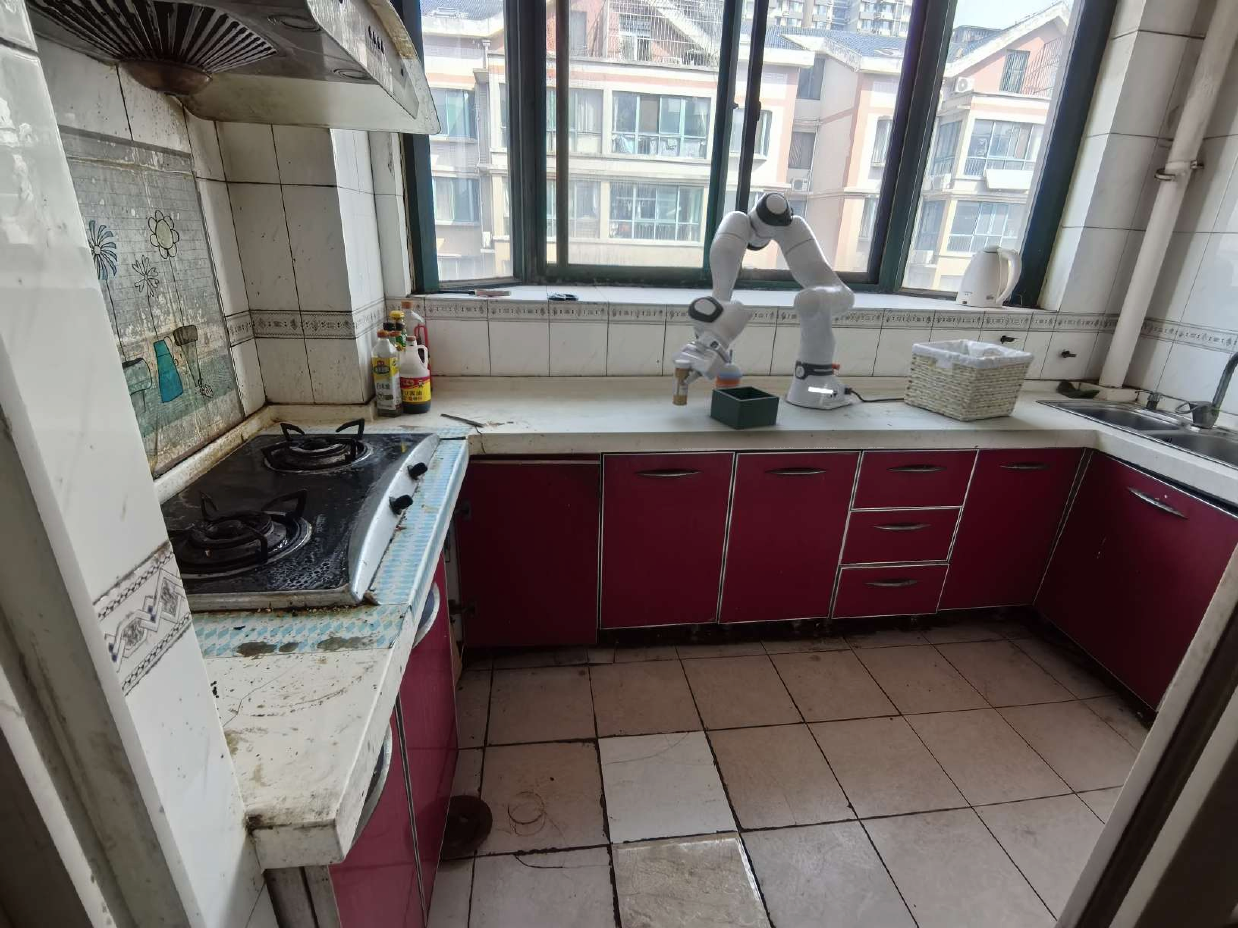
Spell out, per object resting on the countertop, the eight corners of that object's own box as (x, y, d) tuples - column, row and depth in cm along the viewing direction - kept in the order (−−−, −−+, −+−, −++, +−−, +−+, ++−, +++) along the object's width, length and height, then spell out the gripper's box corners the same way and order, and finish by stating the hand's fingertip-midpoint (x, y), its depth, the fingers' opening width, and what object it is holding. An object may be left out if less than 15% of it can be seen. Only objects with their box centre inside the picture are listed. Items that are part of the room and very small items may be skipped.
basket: (963, 425, 187) (982, 356, 179) (895, 401, 209) (910, 340, 201) (1019, 417, 197) (1039, 352, 189) (948, 396, 220) (964, 337, 212)
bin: (747, 411, 190) (750, 385, 187) (775, 424, 179) (779, 396, 175) (709, 416, 184) (712, 389, 180) (736, 429, 172) (740, 401, 169)
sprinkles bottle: (685, 407, 179) (689, 363, 174) (670, 405, 180) (673, 361, 175) (688, 403, 183) (692, 360, 178) (673, 401, 184) (677, 358, 179)
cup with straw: (738, 408, 193) (745, 353, 186) (710, 405, 194) (716, 351, 187) (739, 401, 201) (745, 348, 194) (712, 398, 203) (717, 346, 196)
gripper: (685, 334, 186) (656, 367, 185) (724, 346, 169) (692, 382, 168) (695, 348, 189) (667, 380, 189) (735, 361, 173) (704, 396, 172)
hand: (679, 381), depth 178 cm, fingers closed on sprinkles bottle, 4 cm apart
